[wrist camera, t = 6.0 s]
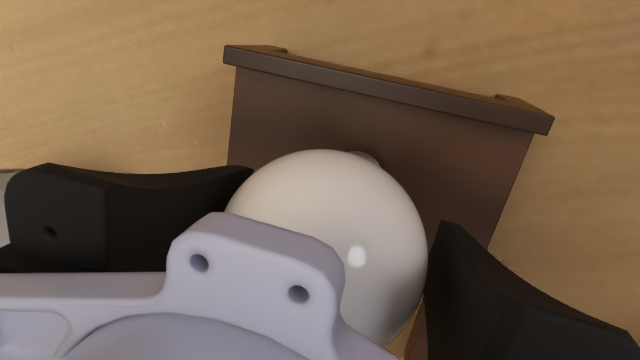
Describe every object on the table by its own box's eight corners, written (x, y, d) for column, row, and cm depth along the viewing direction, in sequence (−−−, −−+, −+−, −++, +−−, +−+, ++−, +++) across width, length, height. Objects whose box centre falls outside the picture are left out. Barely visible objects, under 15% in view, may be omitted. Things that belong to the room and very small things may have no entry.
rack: (421, 354, 26) (423, 427, 21) (237, 294, 28) (198, 347, 23) (520, 98, 20) (556, 116, 14) (268, 45, 22) (223, 44, 17)
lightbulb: (278, 132, 19) (122, 230, 9) (401, 90, 17) (379, 155, 7) (321, 242, 21) (229, 431, 10) (439, 215, 18) (466, 419, 8)
